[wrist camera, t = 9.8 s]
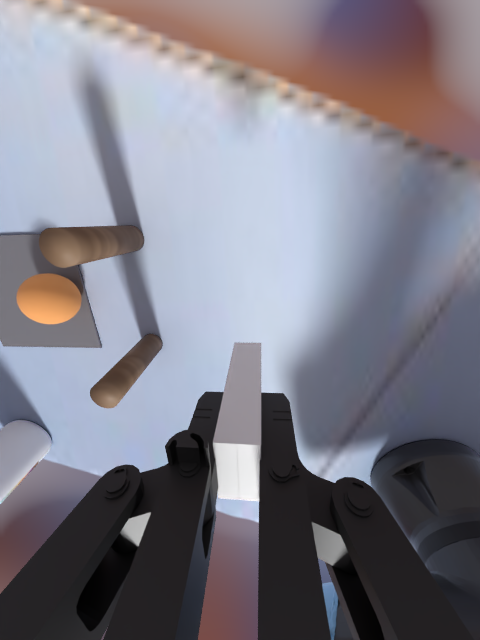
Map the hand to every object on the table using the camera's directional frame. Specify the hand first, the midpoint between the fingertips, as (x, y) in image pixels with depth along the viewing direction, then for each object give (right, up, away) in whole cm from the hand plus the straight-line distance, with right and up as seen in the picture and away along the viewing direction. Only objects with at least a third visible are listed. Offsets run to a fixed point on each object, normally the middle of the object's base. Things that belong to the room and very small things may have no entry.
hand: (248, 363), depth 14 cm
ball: (-21, +5, +12) cm, 25 cm away
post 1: (-12, +11, +11) cm, 20 cm away
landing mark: (-26, +5, +15) cm, 30 cm away
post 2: (-12, 0, +16) cm, 20 cm away
